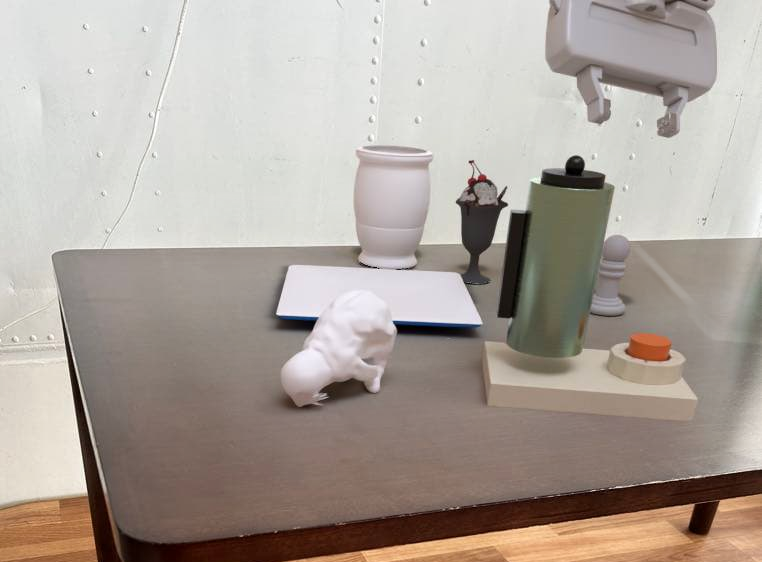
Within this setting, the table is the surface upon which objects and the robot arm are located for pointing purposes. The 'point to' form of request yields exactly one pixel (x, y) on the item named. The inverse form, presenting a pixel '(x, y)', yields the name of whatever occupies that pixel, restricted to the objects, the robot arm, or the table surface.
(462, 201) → the sundae
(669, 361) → the kettle base
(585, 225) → the kettle
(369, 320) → the white hunched creature figure
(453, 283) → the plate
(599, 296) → the chess piece
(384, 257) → the jar
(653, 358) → the kettle switch
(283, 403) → the table surface
